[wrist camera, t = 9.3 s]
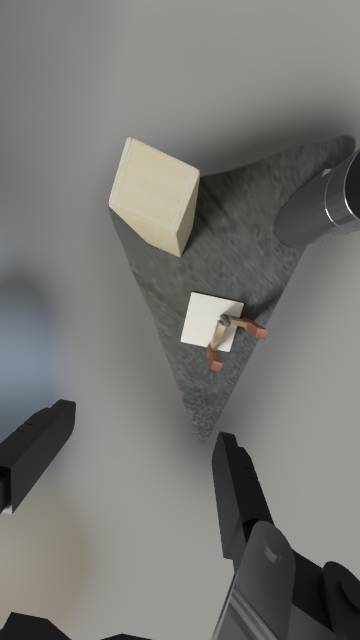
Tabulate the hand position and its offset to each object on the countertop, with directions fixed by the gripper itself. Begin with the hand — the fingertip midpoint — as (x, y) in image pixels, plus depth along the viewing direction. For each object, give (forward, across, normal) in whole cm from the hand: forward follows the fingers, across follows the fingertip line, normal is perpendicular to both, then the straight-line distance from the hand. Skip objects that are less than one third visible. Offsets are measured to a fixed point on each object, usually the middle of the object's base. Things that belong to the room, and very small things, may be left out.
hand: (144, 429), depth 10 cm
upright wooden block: (+34, +5, -17) cm, 38 cm away
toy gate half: (+33, -10, +4) cm, 34 cm away
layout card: (+34, -8, +1) cm, 34 cm away
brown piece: (+33, -13, -1) cm, 36 cm away
